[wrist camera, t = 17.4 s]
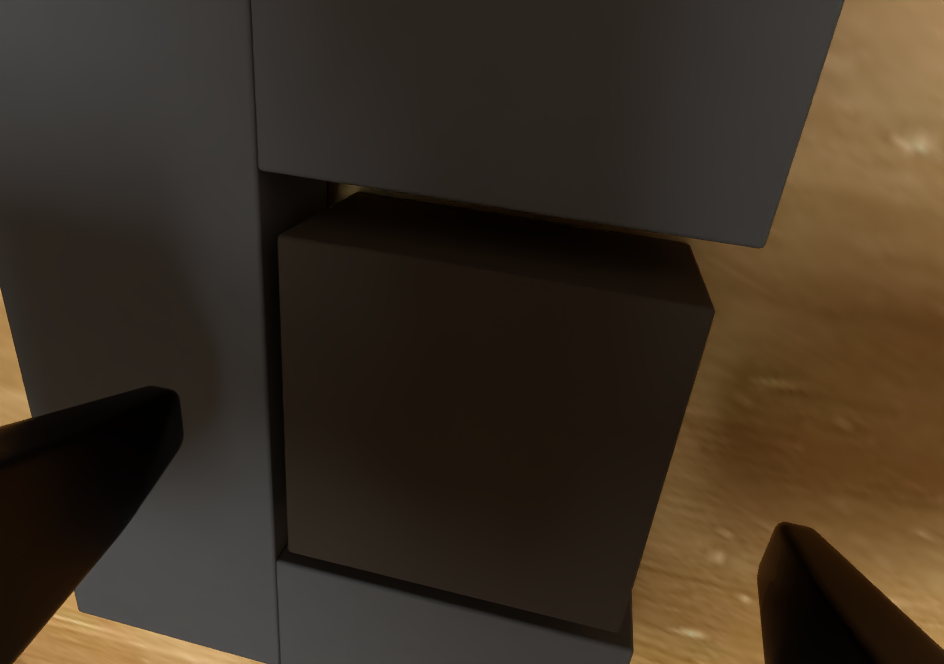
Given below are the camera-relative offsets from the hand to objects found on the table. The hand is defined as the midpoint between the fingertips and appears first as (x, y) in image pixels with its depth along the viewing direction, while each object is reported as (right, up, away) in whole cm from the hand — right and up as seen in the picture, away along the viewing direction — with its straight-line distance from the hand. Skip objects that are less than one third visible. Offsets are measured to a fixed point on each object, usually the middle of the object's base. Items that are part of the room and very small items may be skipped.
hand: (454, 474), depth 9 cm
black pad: (+1, +1, +3) cm, 4 cm away
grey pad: (-2, +2, +3) cm, 4 cm away
